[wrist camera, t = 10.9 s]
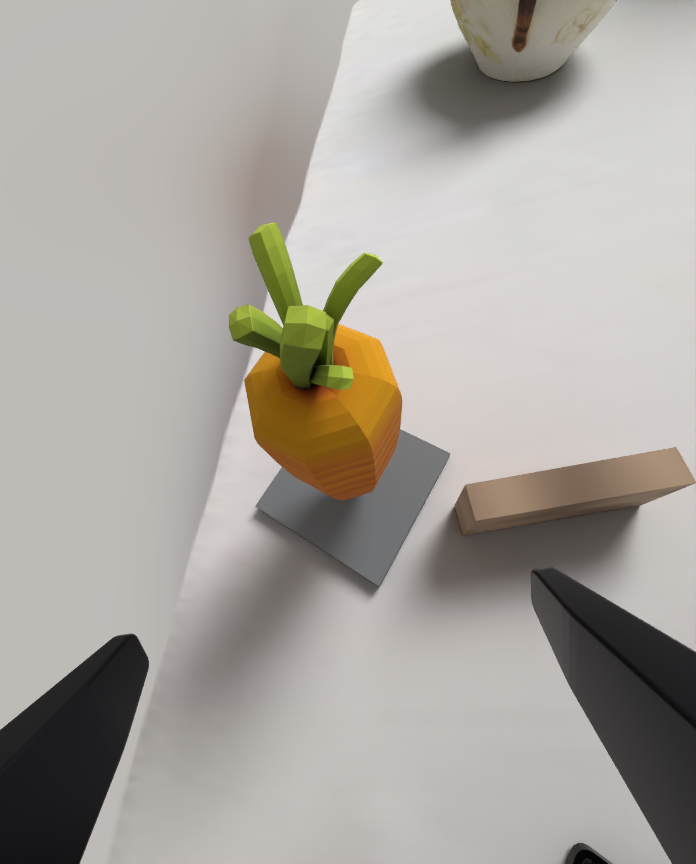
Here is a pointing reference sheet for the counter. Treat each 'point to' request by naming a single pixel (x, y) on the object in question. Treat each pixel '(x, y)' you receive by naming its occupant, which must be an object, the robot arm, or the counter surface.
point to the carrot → (318, 379)
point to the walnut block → (571, 491)
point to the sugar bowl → (526, 33)
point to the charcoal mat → (361, 509)
